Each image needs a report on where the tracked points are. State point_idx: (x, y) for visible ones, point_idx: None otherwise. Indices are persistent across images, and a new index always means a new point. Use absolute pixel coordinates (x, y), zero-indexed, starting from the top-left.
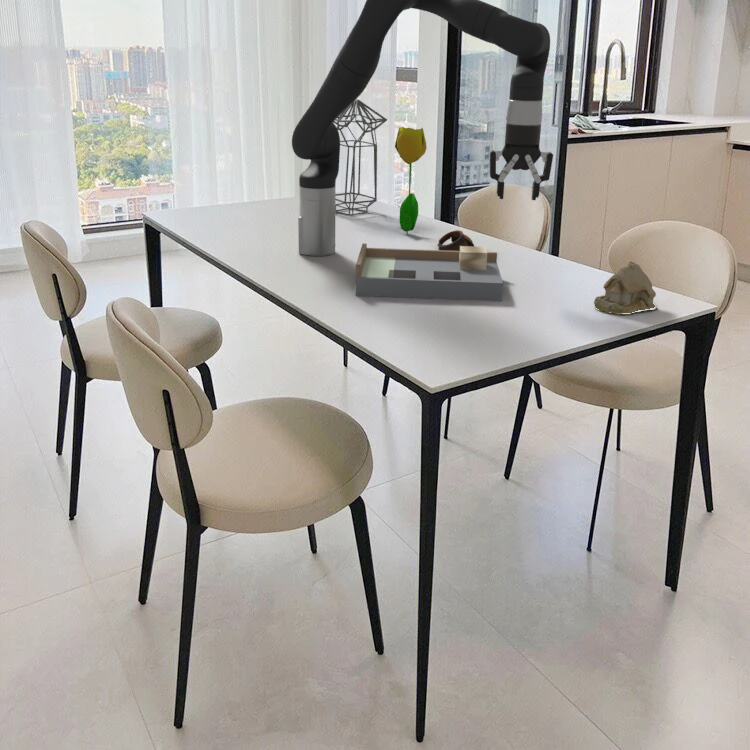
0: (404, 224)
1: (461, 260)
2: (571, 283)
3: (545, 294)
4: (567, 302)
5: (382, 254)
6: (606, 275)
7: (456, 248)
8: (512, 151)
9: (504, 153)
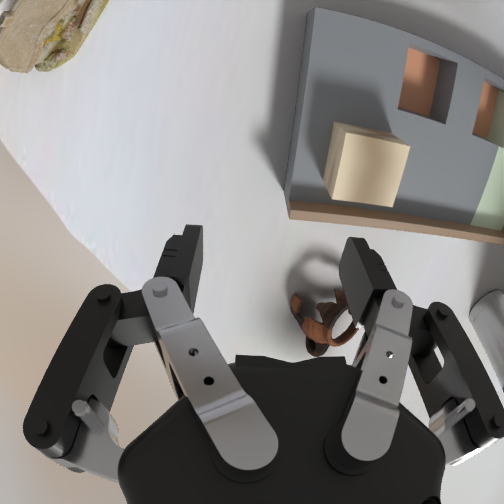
0: None
1: (398, 139)
2: (127, 156)
3: (194, 64)
4: (157, 15)
5: (487, 230)
6: (69, 218)
7: (340, 297)
8: (390, 481)
9: (439, 450)
